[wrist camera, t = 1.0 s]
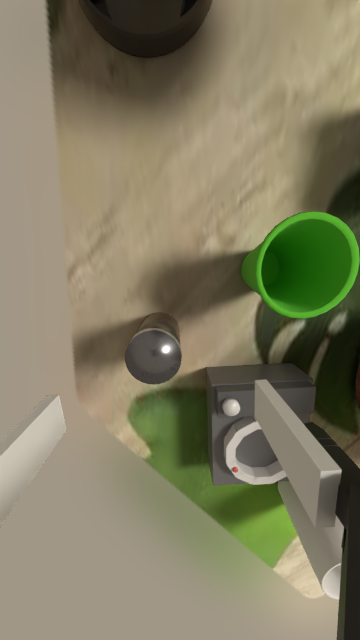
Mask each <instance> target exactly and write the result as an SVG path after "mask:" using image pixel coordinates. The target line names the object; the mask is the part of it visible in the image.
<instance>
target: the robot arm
mask: <svg viewBox="0 0 360 640" xmlns="http://www.w3.org/2000/svg"><path fill="white" fill-rule="evenodd" d="M79 2H80V4H81V6H82V8H83V10H84V12H85V14H86V16H87V17H88V19H89V21H90V22H91V24H92V25H93V26H94V28H95V29H96V30H97V31H98V32H99V33H100V35H101V36H102V37H103V38H105V39H106V40H107V41H108V42H109V43H111V44H112V45H113V46H115V47H116V48H118V49H120V50H122V51H124V52H126V53H129V54H132V55H136V56H142V57H154V56H160V55H164V54H167V53H169V52H172V51H174V50H176V49H177V48H179V47H180V46H182V45H183V44H185V43H186V42H187V41H188V40H189V39H190V38H191V37H192V36H193V35H194V34H195V33H196V31H197V30H198V29H199V27H200V26H201V24H202V23H203V21H204V19H205V17H206V15H207V13H208V11H209V8H210V6H211V3H212V0H79ZM255 418H256V420H257V422H258V424H259V425H260V427H261V429H262V431H263V433H264V435H265V436H266V438H267V440H268V442H269V444H270V446H271V448H272V449H273V451H274V453H275V455H276V457H277V459H278V460H279V462H280V464H281V466H282V468H283V470H284V472H285V473H286V475H287V477H288V479H289V481H290V483H291V484H292V486H293V488H294V490H295V492H296V494H297V496H298V497H299V499H300V501H301V503H302V505H303V507H304V508H305V510H306V512H307V514H308V516H309V518H310V520H311V521H312V523H313V525H314V527H315V528H325V527H335V519H336V516H337V517H338V519H339V520H340V522H341V523H342V525H343V526H344V531H343V538H342V545H341V547H342V561H341V578H340V594H339V613H338V630H337V640H360V469H359V468H358V466H357V465H356V464H355V463H354V462H353V461H352V460H351V459H350V458H349V457H348V456H347V455H346V454H345V452H344V451H343V450H342V449H341V448H340V447H338V446H337V444H336V443H335V442H334V441H333V440H332V439H331V437H330V436H329V435H328V434H327V433H326V432H325V431H324V430H323V429H322V428H320V427H319V426H317V425H316V424H314V423H313V422H311V423H302V422H301V420H300V419H299V418H298V417H297V416H296V414H295V413H294V412H293V411H292V410H291V408H290V407H289V406H288V405H287V404H286V402H285V401H284V400H283V399H282V398H281V396H280V395H279V394H278V393H277V392H276V390H275V389H274V388H273V387H272V386H271V384H270V383H269V382H268V381H267V380H266V379H265V380H255ZM66 430H67V429H66V424H65V420H64V415H63V411H62V406H61V402H60V397H59V395H47V396H46V397H45V398H44V399H43V400H42V401H41V402H40V403H39V404H38V405H37V406H36V407H35V408H34V409H33V410H32V411H31V412H30V413H29V414H28V415H27V416H26V417H25V418H24V419H22V421H20V422H19V423H18V424H17V426H15V427H14V428H13V429H12V430H11V431H10V432H9V433H8V434H7V435H6V436H5V437H4V438H3V439H2V440H1V441H0V526H1V525H2V523H3V522H4V520H5V519H6V517H7V516H8V515H9V513H10V511H11V510H12V508H13V507H14V506H15V504H16V503H17V501H18V500H19V499H20V497H21V496H22V494H23V493H24V491H25V490H26V488H27V487H28V485H29V484H30V482H31V481H32V480H33V478H34V477H35V475H36V474H37V472H38V471H39V469H40V468H41V467H42V465H43V464H44V462H45V461H46V459H47V458H48V456H49V455H50V453H51V452H52V450H53V449H54V448H55V446H56V445H57V443H58V442H59V440H60V439H61V437H62V436H63V435H64V433H65V432H66Z"/></svg>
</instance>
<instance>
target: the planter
mask: <svg viewBox="0 0 360 640" xmlns="http://www.w3.org/2000/svg"><path fill="white" fill-rule="evenodd" d="M356 397H357V402H358V405H359V408H360V363H359V366H358V370H357V376H356Z"/></svg>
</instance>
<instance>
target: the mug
mask: <svg viewBox="0 0 360 640" xmlns="http://www.w3.org/2000/svg"><path fill="white" fill-rule="evenodd" d="M278 491H279V493H280V495H281V498H282V500H283V502H284V505H285V507H286V509H287V512H288V514H289V516H290V518H291V521H292V523H293V525H294V527H295V529H296V532H297V534H298V536H299V538H300V541H301V543H302V545H303V548H304V550H305V552H306V554H307V557H308V559H309V561H310V563H311V566H312V568H313V570H314V572H315V574H316V576H317V578H318V580H319V582H320V585H321V588H322V590H323V592H324V593H325V594H326V595H327V596H329V597H331V598H333V599H337V600H339V594H340V578H341V561H342V547H341V545H342V538H343V531H344V526H343V525H342V523H341V522H340V520H339V519H338V517H337V516H336V519H335V527H325V528H315V527H314V525H313V523H312V521H311V520H310V518H309V516H308V514H307V512H306V510H305V508H304V507H303V505H302V503H301V501H300V499H299V497H298V496H297V494H296V492H295V490H294V488H293V486H292V484H291V483H290V481H280V482H278Z"/></svg>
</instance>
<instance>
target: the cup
mask: <svg viewBox="0 0 360 640" xmlns="http://www.w3.org/2000/svg"><path fill="white" fill-rule="evenodd" d="M359 261H360V260H359V248H358V245H357V242H356V239H355V236H354V234H353V233H352V232H351V230H350V229H349V227H348V226H347V225H346V224H345V223H343V222H342V221H341V220H340V219H339V218H337V217H334V216H332V215H330V214H327V213H324V212H315V211H310V212H303V213H298V214H296V215H293V216H291V217H289V218H286V219H285V220H284V221H282V222H281V223H279V224H278V225H277V226H275V227H274V228H273V230H272V231H271V232H270V233H269V234H268V235H267V236H266V238H265V239H264V241H263V242H262V243H261V244H260V245H259V246H257V247H256V248H255V249H254V250H253V251H251V252H250V253H249V254H248V255H247V256H246V257H245V259H244V261H243V262H242V266H241V275H242V278H243V280H244V282H245V283H246V284H247V285H248V286H249V287H250V288H252V289H253V290H254V291H255V292H257V293H258V294H259V295H260V296H261V298H262V299H263V301H264V302H265V303H266V304H267V305H268V307H269V308H271V309H272V310H274V311H275V312H277V313H278V314H280V315H283V316H286V317H289V318H297V319H303V318H310V317H314V316H317V315H320V314H322V313H325V312H327V311H328V310H330V309H331V308H333V307H334V306H336V305H337V304H338V303H339V302H340V301H341V300H342V299H343V298H344V297H345V296H346V295H347V293H348V292H349V290H350V289H351V287H352V286H353V283H354V281H355V278H356V276H357V273H358V267H359Z"/></svg>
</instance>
